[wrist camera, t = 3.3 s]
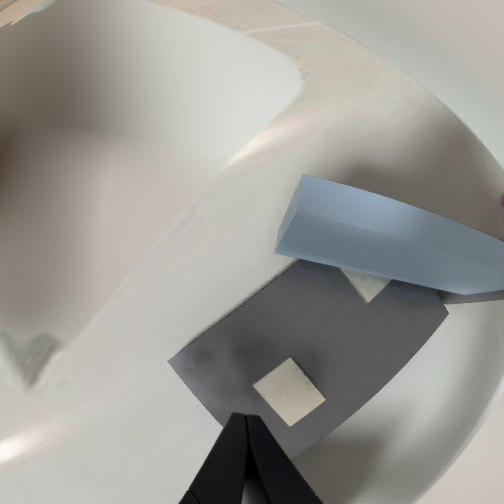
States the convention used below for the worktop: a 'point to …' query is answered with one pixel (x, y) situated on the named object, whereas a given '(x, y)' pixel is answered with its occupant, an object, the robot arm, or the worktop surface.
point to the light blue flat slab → (391, 241)
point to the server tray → (309, 350)
